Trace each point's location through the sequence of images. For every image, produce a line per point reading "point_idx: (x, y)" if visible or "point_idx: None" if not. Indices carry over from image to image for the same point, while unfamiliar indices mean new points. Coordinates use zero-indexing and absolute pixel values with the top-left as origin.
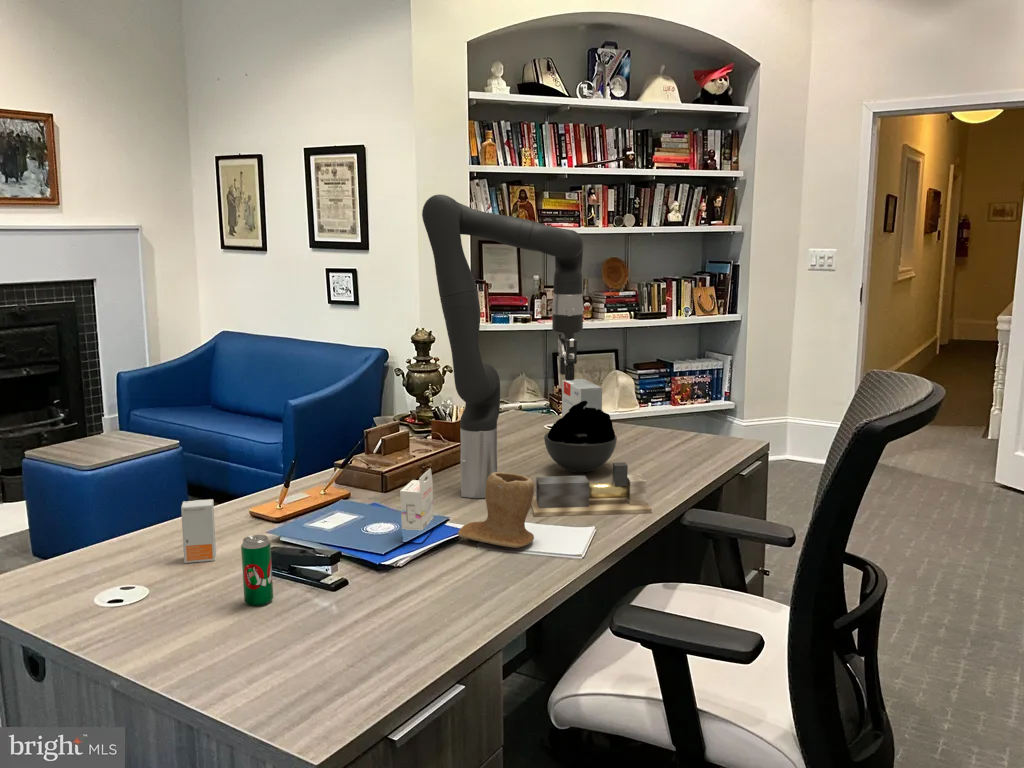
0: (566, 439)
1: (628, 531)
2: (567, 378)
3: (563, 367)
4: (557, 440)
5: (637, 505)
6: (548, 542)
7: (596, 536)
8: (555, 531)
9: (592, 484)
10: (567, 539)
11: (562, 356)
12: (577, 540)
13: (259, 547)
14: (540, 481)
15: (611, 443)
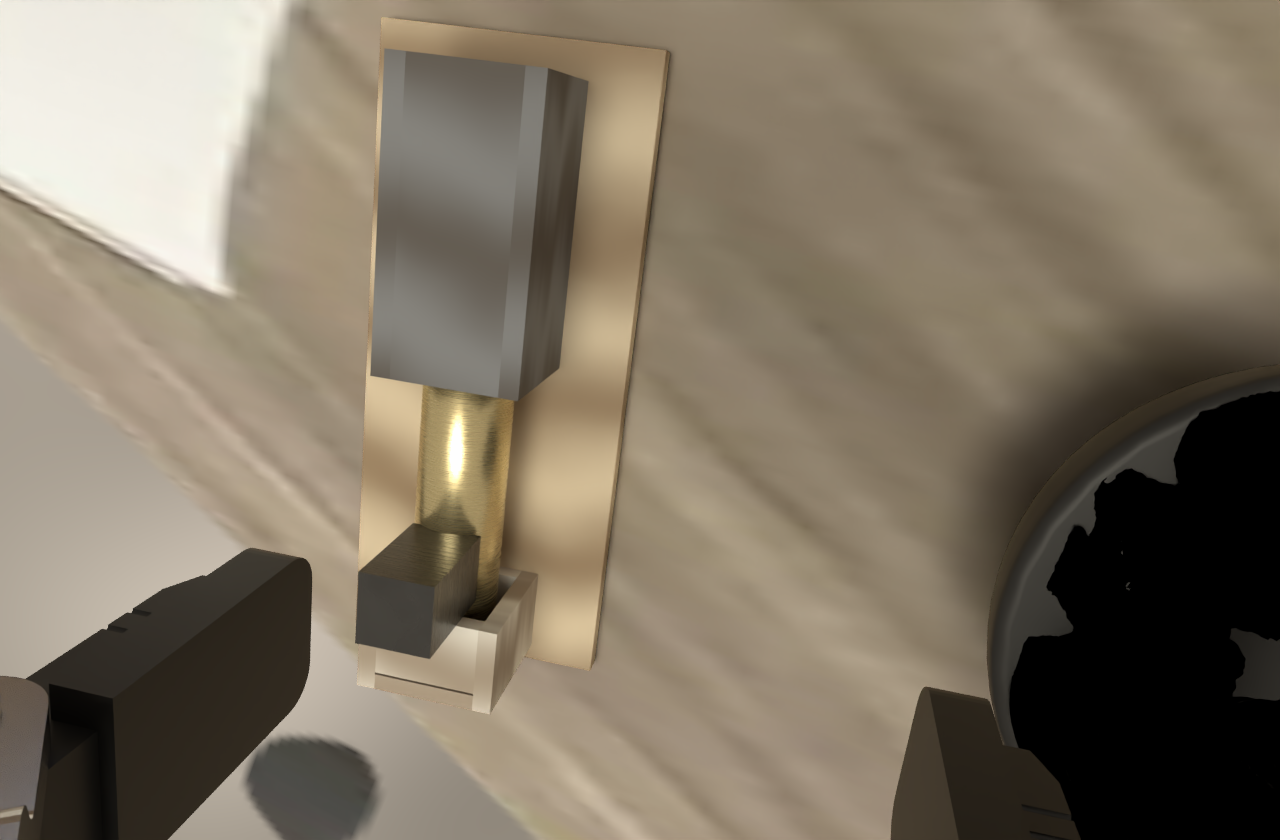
0: (1175, 509)
1: (151, 418)
2: (198, 577)
3: (927, 827)
4: (1198, 432)
5: None
6: (37, 6)
7: (100, 257)
8: (172, 80)
9: (437, 407)
10: (70, 110)
11: (10, 810)
12: (57, 154)
13: None
14: (436, 70)
15: None
